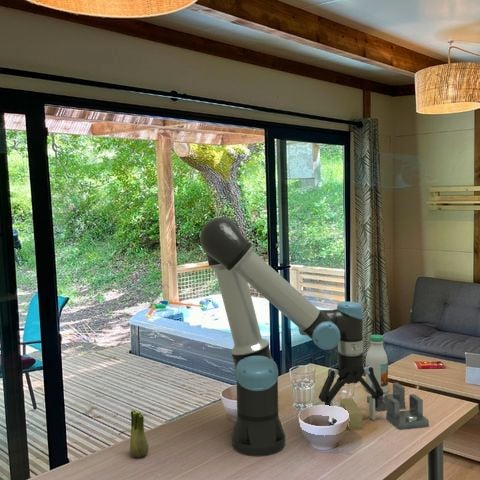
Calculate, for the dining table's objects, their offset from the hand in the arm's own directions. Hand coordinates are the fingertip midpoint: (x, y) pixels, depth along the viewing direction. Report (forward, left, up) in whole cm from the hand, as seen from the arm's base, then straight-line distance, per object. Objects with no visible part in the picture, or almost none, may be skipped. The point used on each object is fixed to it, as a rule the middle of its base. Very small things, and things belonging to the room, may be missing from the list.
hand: (351, 420), depth 158 cm
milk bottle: (+19, +22, 0) cm, 29 cm away
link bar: (0, 0, 0) cm, 0 cm away
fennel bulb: (-64, -7, 0) cm, 65 cm away
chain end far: (+16, +9, 0) cm, 18 cm away
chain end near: (+16, -5, 0) cm, 17 cm away
